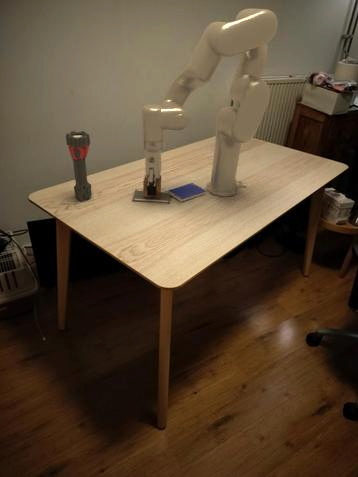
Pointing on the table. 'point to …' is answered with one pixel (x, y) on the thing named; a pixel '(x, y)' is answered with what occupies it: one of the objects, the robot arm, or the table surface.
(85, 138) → the flashlight
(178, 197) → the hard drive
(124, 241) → the table surface
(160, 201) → the mat
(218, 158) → the robot arm
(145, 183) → the cube
